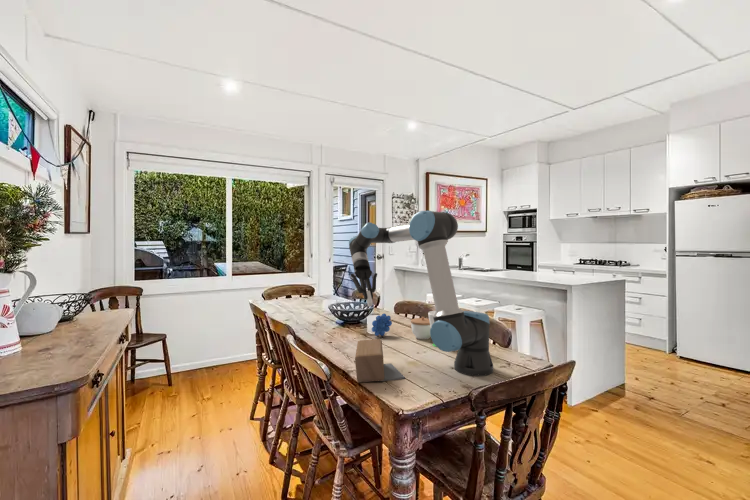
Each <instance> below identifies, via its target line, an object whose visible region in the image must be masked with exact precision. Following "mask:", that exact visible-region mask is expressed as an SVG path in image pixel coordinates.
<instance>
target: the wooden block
mask: <svg viewBox="0 0 750 500" xmlns="http://www.w3.org/2000/svg"><path fill="white" fill-rule="evenodd" d="M354 359H355V360H354V362H355V374H356V381H357V382H358V383H368V382H371V383H372V382H383V381H382V380H384V364H385V363H384V350H383V341H382V339H381V338H373V339H362V340H358V341H357V344H356V351H355V357H354Z"/></svg>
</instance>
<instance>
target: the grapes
mask: <svg viewBox="0 0 750 500" xmlns="http://www.w3.org/2000/svg"><path fill="white" fill-rule="evenodd" d="M392 324H393V321H391V316H390V315H387V314H386V313H382V314H381V315H376V316H375V319H374V320H373V321H372V323H371V326H372V327H371V332H373V333H374V335H375V336H380V337H381V336H385V334H386V333H388V332H390V329H391V326H392Z"/></svg>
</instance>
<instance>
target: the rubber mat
mask: <svg viewBox="0 0 750 500" xmlns="http://www.w3.org/2000/svg"><path fill="white" fill-rule="evenodd" d="M405 379H406V376H404V374H403V373H401V371H399V369H398V368H396V367H395V365H393V364H392V363H384V380H382V381H381V382H388V381H396V380H397V381H398V380H405Z"/></svg>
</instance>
